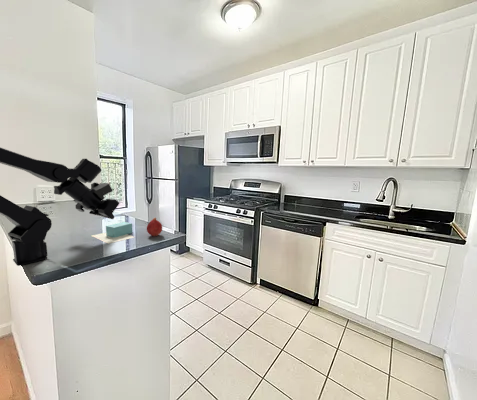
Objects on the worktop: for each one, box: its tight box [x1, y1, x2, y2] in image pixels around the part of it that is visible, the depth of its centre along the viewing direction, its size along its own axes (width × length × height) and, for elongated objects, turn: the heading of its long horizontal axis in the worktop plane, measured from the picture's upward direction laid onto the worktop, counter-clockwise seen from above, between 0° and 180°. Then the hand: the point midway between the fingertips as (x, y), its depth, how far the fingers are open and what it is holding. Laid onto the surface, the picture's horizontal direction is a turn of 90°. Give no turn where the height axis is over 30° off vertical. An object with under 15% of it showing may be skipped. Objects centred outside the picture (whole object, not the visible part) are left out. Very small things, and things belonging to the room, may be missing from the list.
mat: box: [91, 232, 135, 245], centre depth 88 cm, size 10×15×1 cm, turn 53°
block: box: [105, 221, 134, 238], centre depth 91 cm, size 4×5×8 cm
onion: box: [146, 217, 163, 237], centre depth 89 cm, size 6×6×8 cm
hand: (113, 218), depth 88 cm, fingers closed
